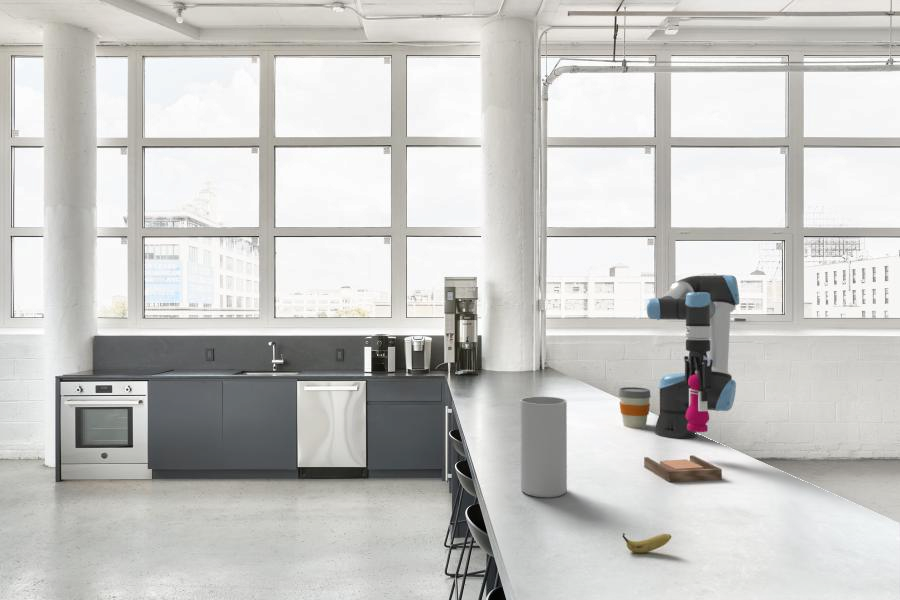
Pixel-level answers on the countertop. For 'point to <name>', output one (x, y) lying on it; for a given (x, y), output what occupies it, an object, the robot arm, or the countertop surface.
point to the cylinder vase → (544, 446)
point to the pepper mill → (696, 408)
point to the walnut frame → (685, 471)
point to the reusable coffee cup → (634, 406)
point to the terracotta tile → (680, 465)
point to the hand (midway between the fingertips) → (698, 409)
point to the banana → (647, 543)
